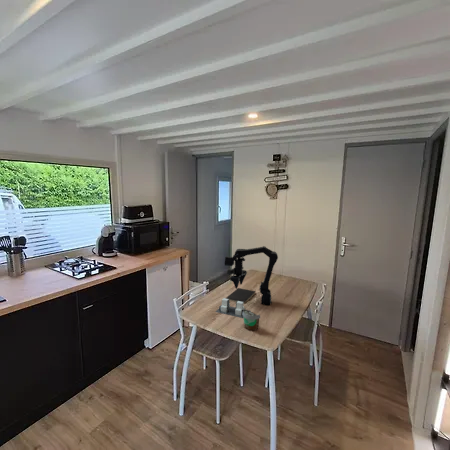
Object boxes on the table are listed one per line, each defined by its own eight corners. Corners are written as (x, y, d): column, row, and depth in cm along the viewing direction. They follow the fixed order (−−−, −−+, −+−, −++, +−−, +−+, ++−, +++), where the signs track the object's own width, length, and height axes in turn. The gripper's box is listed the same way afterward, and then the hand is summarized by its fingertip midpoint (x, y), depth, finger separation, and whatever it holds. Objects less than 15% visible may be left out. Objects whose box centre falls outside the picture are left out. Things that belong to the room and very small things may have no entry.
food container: (238, 326, 158) (238, 311, 157) (244, 322, 162) (244, 308, 161) (253, 334, 149) (253, 318, 148) (260, 330, 154) (260, 314, 152)
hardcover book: (255, 294, 208) (255, 291, 208) (244, 305, 188) (244, 302, 188) (237, 290, 216) (237, 287, 215) (225, 300, 196) (225, 297, 195)
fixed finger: (230, 308, 181) (230, 298, 180) (226, 312, 175) (226, 302, 174) (224, 306, 183) (224, 297, 182) (220, 311, 177) (220, 300, 176)
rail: (251, 311, 177) (251, 308, 177) (245, 319, 167) (245, 315, 166) (222, 305, 187) (222, 302, 186) (215, 312, 176) (215, 309, 175)
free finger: (244, 311, 177) (244, 300, 176) (240, 315, 171) (240, 304, 169) (238, 309, 179) (238, 299, 178) (234, 314, 172) (234, 303, 171)
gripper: (233, 261, 201) (233, 280, 203) (223, 268, 184) (223, 289, 186) (247, 263, 196) (246, 282, 198) (237, 270, 179) (237, 291, 182)
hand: (238, 286), depth 191 cm, fingers open, 9 cm apart
